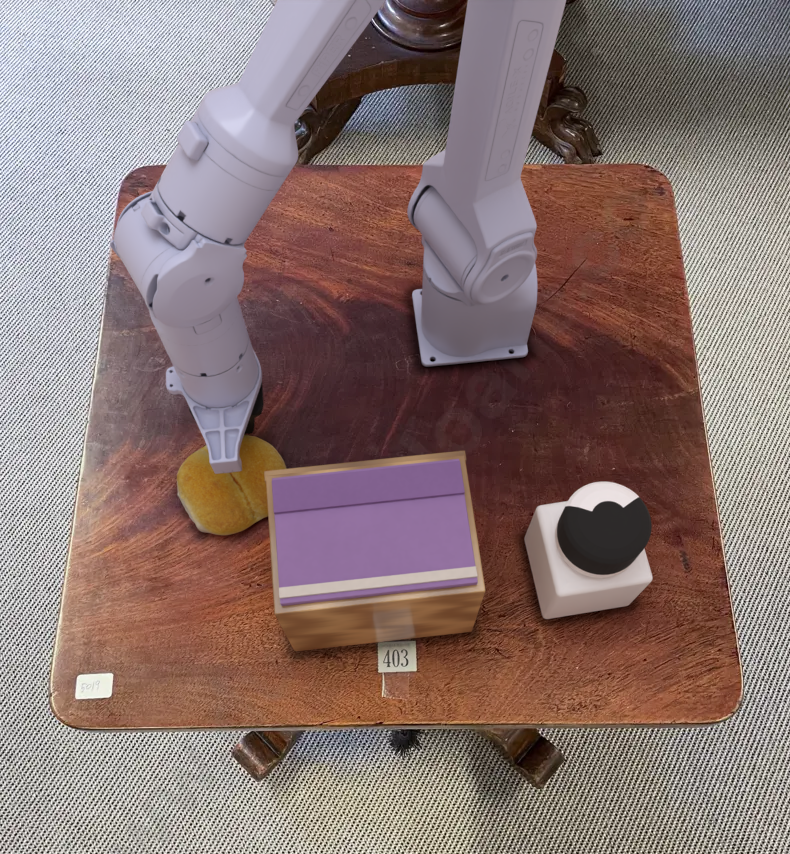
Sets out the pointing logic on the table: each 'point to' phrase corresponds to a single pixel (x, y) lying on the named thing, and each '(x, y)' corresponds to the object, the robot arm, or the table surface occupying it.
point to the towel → (372, 532)
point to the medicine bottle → (589, 550)
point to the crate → (382, 612)
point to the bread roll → (228, 488)
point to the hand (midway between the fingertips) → (241, 429)
